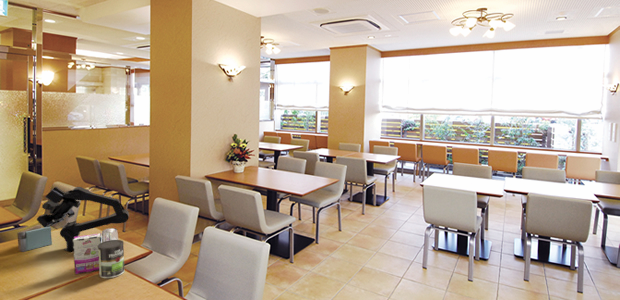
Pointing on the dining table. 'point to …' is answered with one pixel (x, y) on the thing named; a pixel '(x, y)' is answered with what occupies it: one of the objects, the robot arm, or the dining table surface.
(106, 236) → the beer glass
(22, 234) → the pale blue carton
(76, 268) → the candy bar box
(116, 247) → the coffee can
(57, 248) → the dining table surface
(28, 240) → the hinge leaf
